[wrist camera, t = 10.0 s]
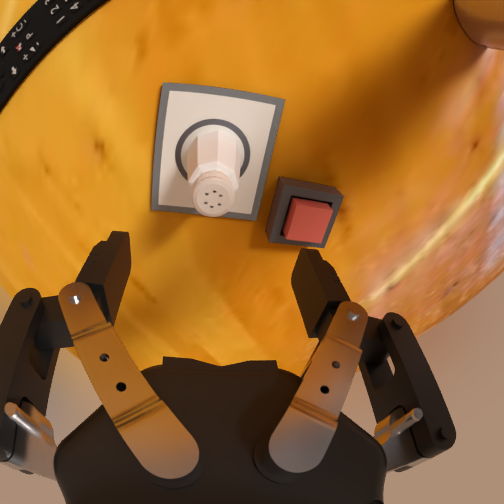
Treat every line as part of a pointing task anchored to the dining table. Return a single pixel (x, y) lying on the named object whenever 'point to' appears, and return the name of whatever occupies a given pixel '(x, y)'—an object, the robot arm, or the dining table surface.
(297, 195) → the button housing
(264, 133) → the board
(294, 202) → the button
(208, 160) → the salt shaker
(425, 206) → the dining table surface
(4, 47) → the remote control
